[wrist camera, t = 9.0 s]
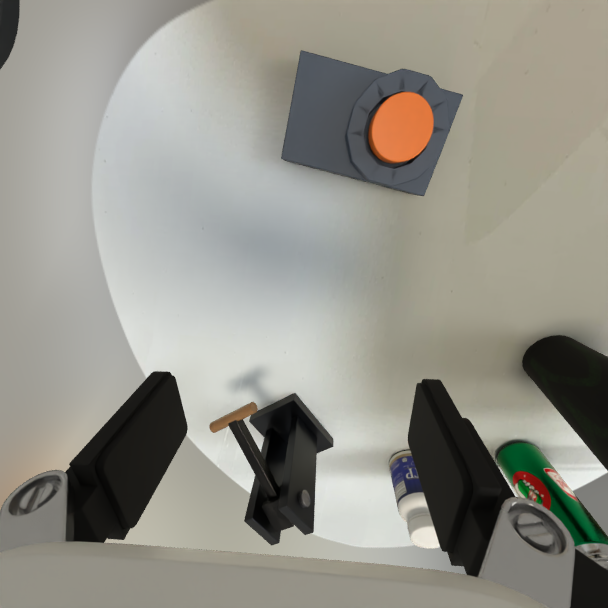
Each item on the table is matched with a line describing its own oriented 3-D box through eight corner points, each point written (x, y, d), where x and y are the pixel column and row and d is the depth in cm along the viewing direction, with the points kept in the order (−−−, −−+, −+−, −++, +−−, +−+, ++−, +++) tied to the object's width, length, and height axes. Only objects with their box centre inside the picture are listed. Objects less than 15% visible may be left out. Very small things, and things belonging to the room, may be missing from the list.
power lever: (217, 417, 31) (203, 428, 28) (256, 397, 29) (245, 407, 27) (271, 517, 30) (261, 537, 28) (314, 502, 28) (308, 522, 26)
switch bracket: (251, 414, 37) (220, 510, 26) (294, 392, 35) (280, 487, 24) (290, 456, 40) (277, 560, 29) (333, 439, 38) (335, 542, 27)
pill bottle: (434, 453, 37) (464, 529, 29) (420, 479, 39) (444, 556, 31) (395, 445, 37) (414, 519, 29) (383, 471, 39) (397, 546, 31)
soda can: (543, 458, 36) (637, 579, 25) (503, 471, 38) (575, 591, 27) (530, 433, 35) (623, 550, 24) (488, 448, 36) (558, 564, 25)
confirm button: (360, 155, 21) (363, 153, 19) (379, 91, 19) (383, 83, 18) (412, 169, 21) (419, 168, 19) (435, 106, 19) (444, 100, 18)
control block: (284, 160, 25) (277, 156, 21) (303, 61, 22) (298, 38, 18) (416, 195, 25) (431, 197, 21) (451, 102, 22) (475, 86, 19)
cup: (498, 355, 31) (592, 452, 20) (569, 312, 28) (723, 396, 17) (534, 397, 33) (639, 507, 22) (604, 360, 30) (763, 463, 19)
